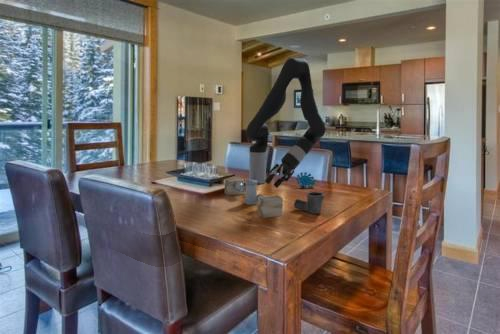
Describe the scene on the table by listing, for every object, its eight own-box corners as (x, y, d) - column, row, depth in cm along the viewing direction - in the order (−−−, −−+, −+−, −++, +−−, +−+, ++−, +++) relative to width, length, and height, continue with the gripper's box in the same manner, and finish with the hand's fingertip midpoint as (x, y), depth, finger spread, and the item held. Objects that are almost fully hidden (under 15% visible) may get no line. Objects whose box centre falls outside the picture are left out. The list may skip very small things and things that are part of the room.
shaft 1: (232, 189, 168) (232, 182, 167) (239, 188, 169) (239, 181, 169) (238, 192, 162) (238, 185, 161) (245, 192, 163) (245, 184, 163)
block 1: (224, 193, 172) (224, 179, 171) (239, 191, 175) (239, 177, 174) (228, 195, 167) (228, 181, 166) (243, 193, 171) (243, 179, 170)
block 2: (258, 214, 138) (258, 196, 137) (276, 212, 141) (276, 195, 140) (263, 218, 133) (264, 200, 132) (282, 215, 137) (282, 197, 135)
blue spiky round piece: (295, 185, 183) (296, 170, 188) (293, 191, 187) (294, 176, 193) (317, 188, 182) (317, 173, 188) (314, 194, 187) (314, 179, 193)
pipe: (298, 207, 148) (299, 189, 147) (326, 213, 140) (327, 193, 139) (291, 210, 143) (291, 191, 142) (319, 216, 136) (320, 196, 134)
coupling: (243, 202, 155) (243, 180, 154) (254, 201, 158) (254, 179, 156) (248, 205, 151) (248, 182, 149) (259, 204, 153) (259, 181, 151)
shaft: (255, 202, 145) (255, 194, 144) (263, 201, 146) (263, 193, 145) (263, 207, 138) (263, 198, 138) (271, 206, 140) (271, 197, 139)
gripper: (281, 150, 165) (258, 176, 162) (297, 154, 152) (272, 182, 149) (290, 161, 168) (268, 186, 165) (307, 165, 155) (283, 193, 152)
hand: (270, 184), depth 157 cm, fingers open, 8 cm apart
